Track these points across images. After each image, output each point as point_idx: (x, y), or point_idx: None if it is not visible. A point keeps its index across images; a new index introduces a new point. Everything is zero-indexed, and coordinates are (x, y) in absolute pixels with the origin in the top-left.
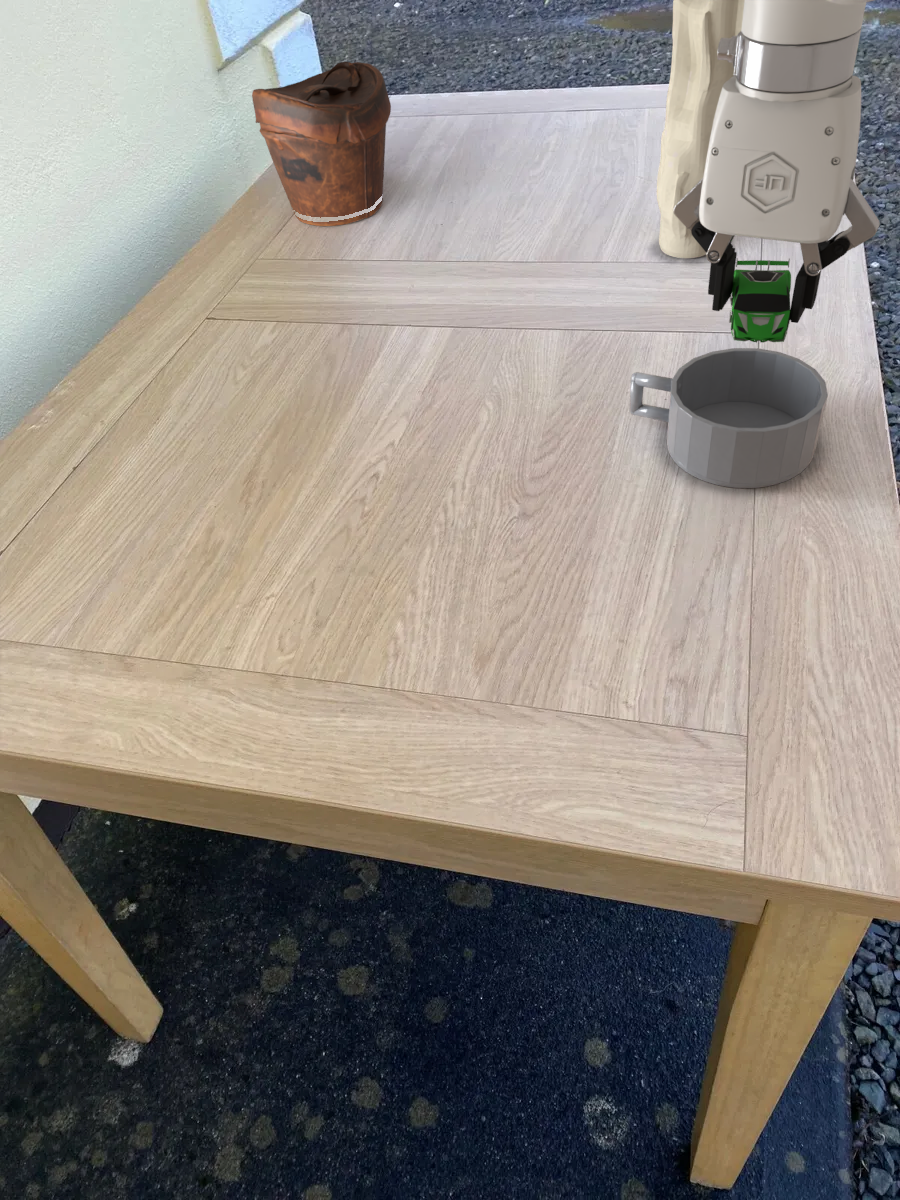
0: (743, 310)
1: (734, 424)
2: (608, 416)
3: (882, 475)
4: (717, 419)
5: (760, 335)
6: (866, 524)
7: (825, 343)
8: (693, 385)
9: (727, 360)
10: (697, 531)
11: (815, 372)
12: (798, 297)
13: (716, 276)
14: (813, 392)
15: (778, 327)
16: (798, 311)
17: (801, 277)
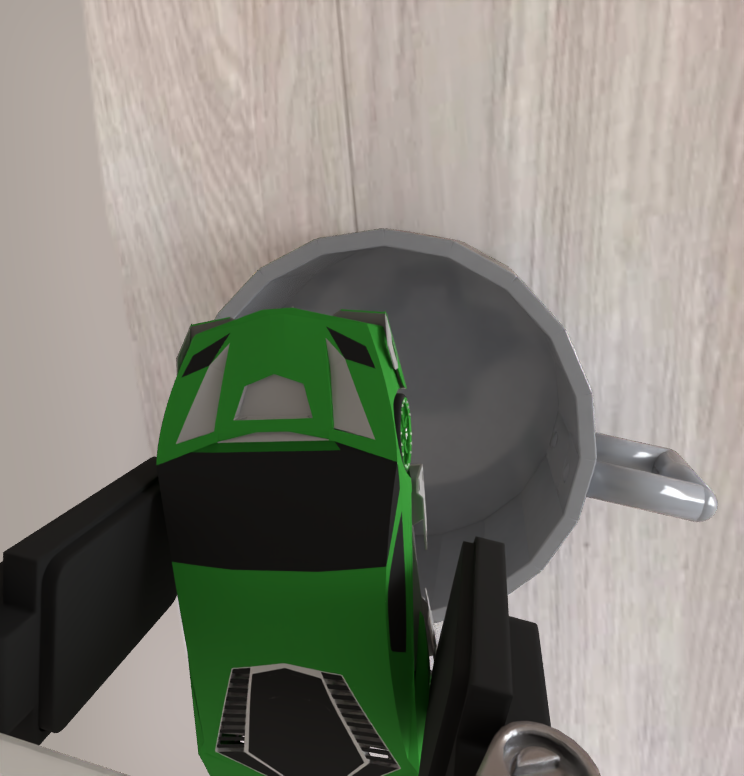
0: (351, 456)
1: (419, 451)
2: (727, 468)
3: (131, 330)
4: (458, 466)
5: (273, 327)
6: (140, 167)
7: None
8: (526, 522)
9: (447, 591)
10: (464, 52)
11: None
12: (100, 502)
13: (505, 643)
14: None
15: (202, 372)
16: (130, 471)
17: (28, 556)
